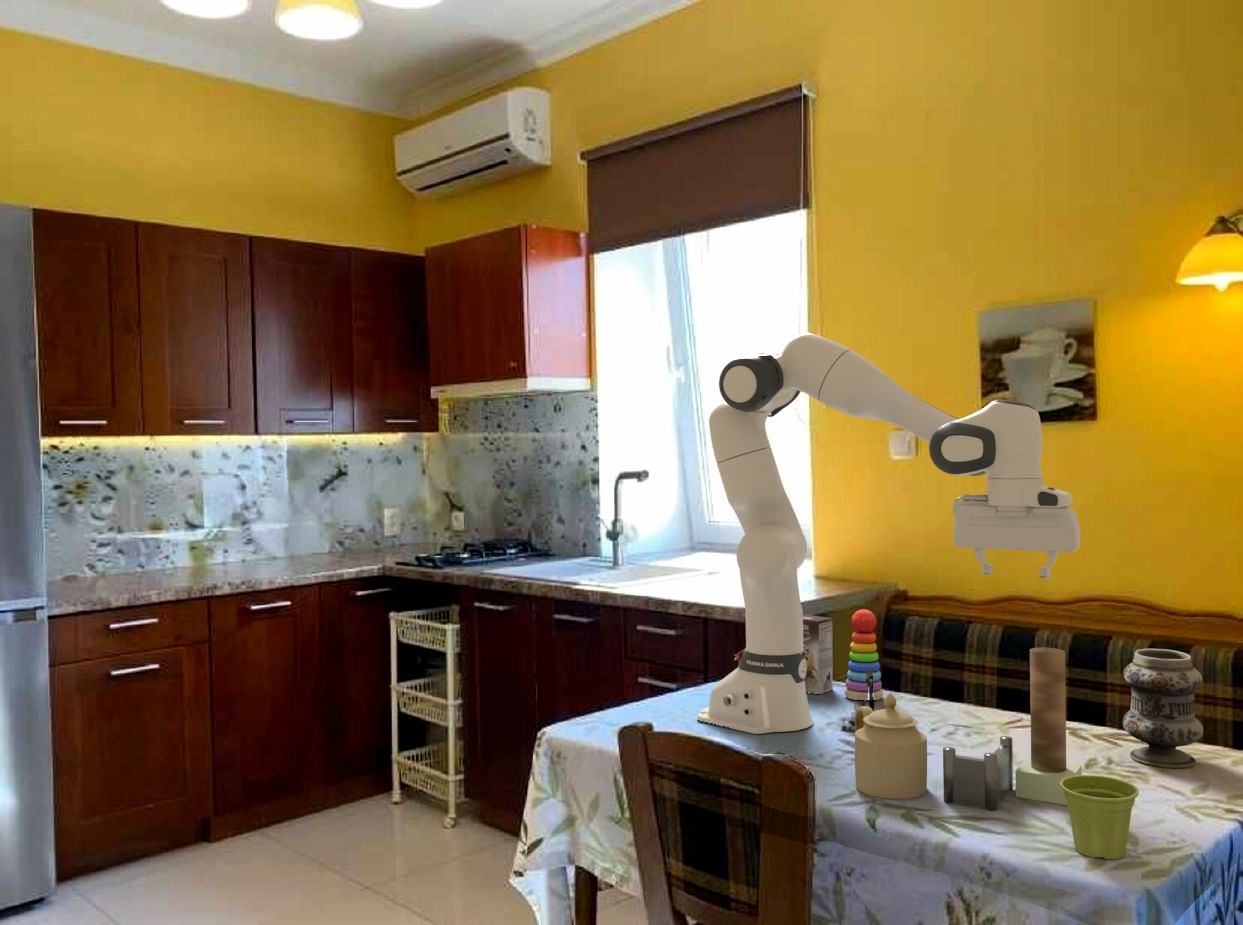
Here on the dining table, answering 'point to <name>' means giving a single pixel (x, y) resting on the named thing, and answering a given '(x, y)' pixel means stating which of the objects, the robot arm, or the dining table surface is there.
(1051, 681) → the brown wooden cylinder
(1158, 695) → the apothecary jar
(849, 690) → the stacking toy
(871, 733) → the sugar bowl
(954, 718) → the dining table surface
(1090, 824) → the plant pot
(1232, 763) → the dining table surface
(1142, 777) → the dining table surface
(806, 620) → the coffee box
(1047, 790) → the block
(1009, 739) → the corner post block
